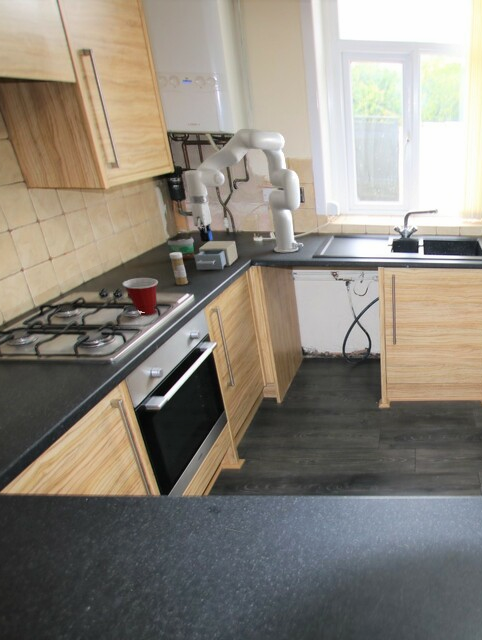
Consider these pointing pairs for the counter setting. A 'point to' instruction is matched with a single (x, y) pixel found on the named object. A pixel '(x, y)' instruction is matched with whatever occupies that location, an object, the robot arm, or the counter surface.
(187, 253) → the food container
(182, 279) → the sprinkles bottle
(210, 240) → the blue cube
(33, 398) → the counter surface
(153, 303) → the plastic cup
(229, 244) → the cream drawer box
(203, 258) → the grey drawer
